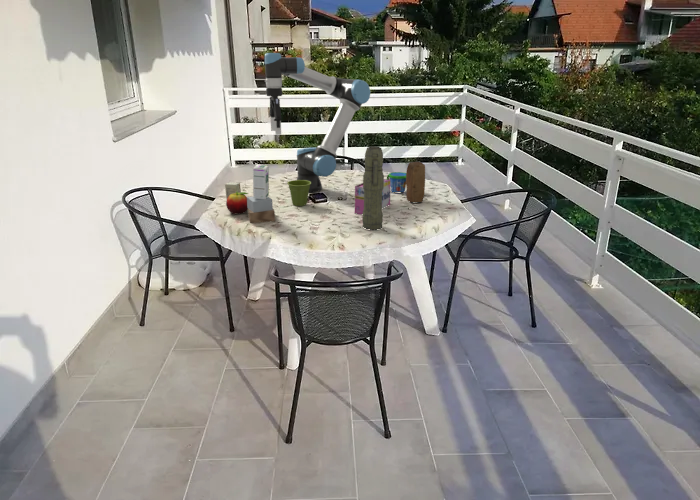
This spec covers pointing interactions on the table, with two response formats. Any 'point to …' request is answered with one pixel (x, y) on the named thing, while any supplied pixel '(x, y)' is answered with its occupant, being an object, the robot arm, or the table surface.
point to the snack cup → (397, 181)
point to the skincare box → (232, 188)
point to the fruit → (237, 203)
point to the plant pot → (299, 191)
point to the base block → (261, 216)
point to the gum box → (360, 196)
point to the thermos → (373, 188)
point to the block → (415, 182)
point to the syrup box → (261, 181)
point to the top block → (259, 204)
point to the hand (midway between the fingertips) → (276, 132)
